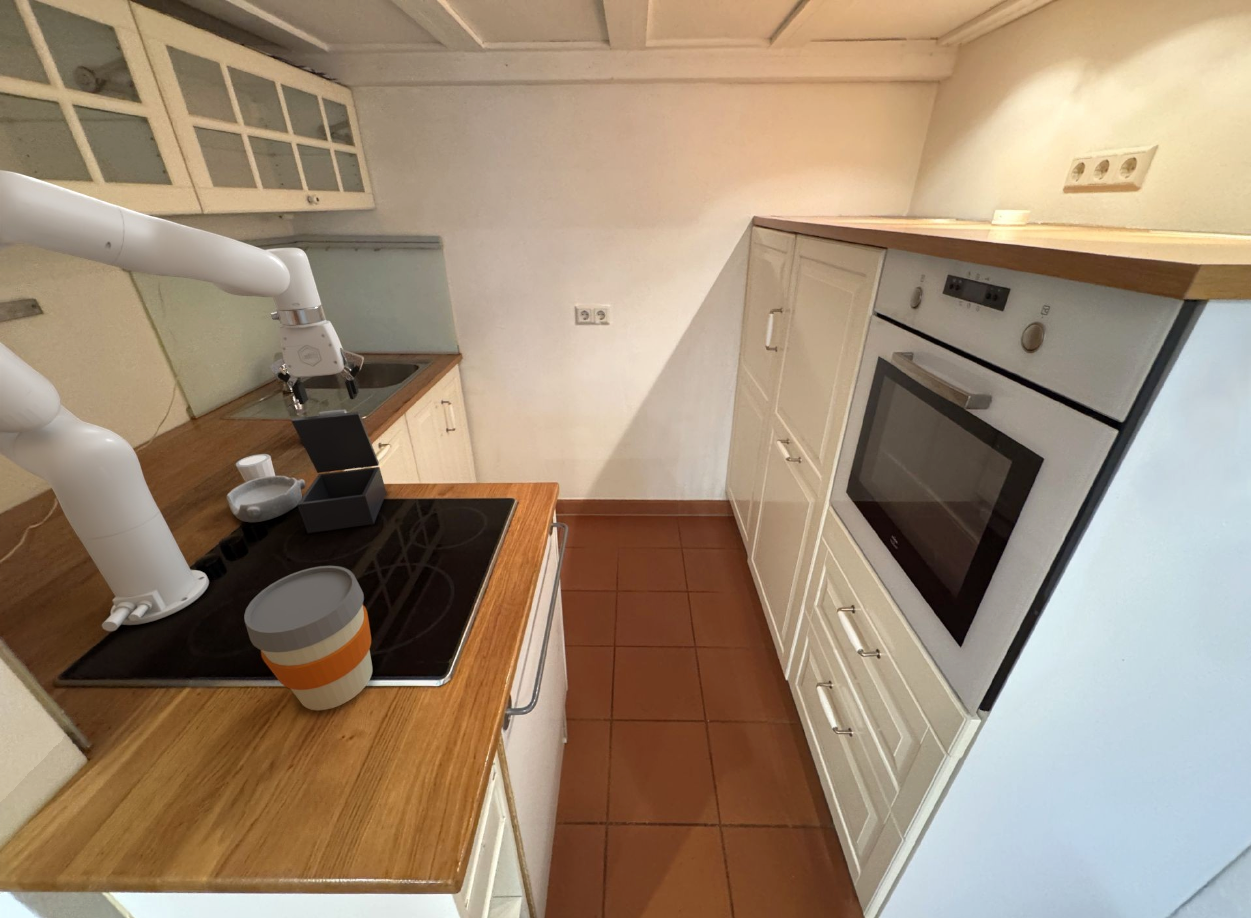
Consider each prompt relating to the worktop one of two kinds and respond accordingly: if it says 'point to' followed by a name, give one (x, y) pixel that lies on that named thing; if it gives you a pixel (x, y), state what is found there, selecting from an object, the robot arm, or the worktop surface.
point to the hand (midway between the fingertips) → (329, 399)
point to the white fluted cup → (255, 467)
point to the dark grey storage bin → (342, 500)
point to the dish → (265, 498)
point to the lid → (336, 441)
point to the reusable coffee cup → (314, 635)
